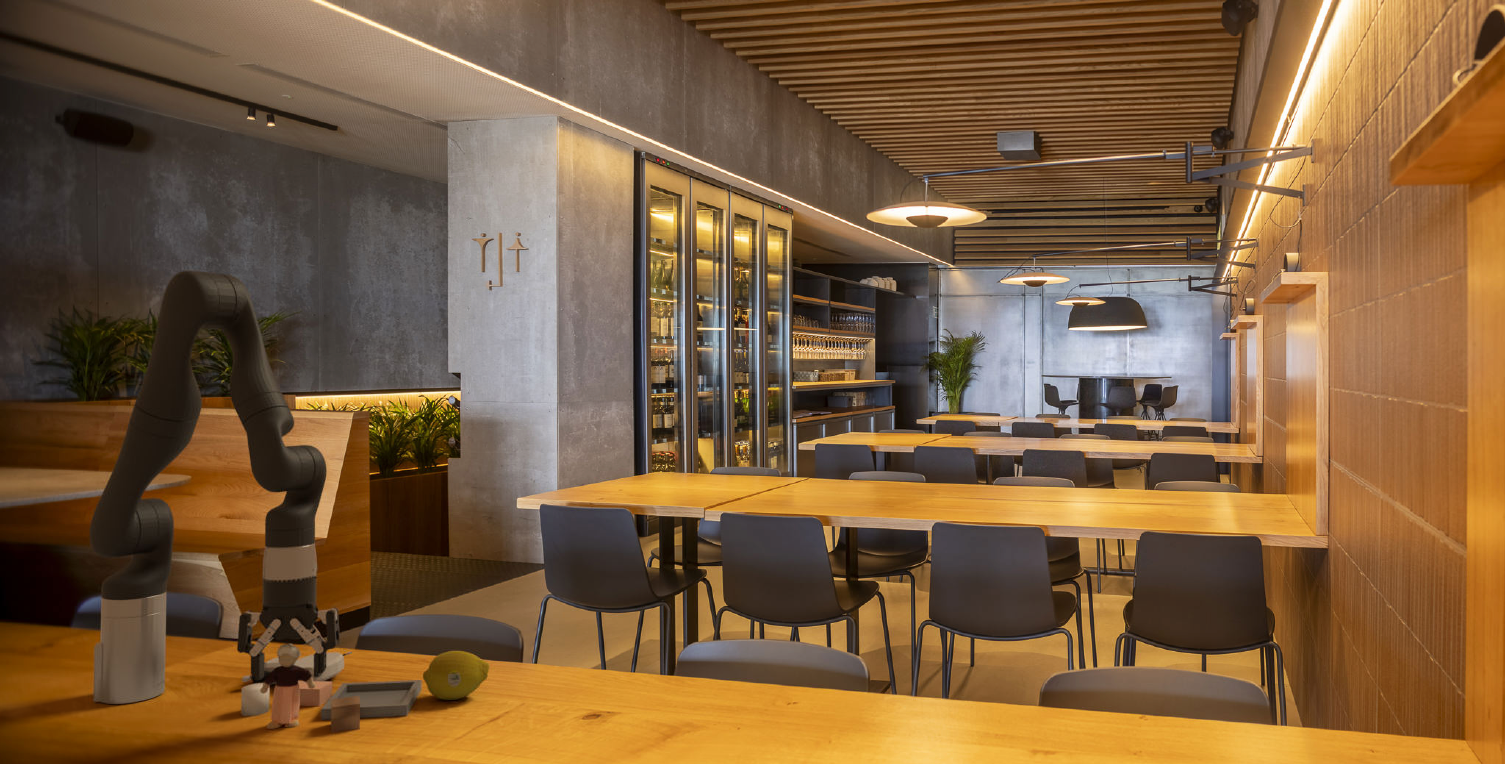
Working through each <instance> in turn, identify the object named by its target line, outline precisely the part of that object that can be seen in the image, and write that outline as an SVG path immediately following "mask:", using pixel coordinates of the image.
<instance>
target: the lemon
mask: <svg viewBox="0 0 1505 764" xmlns="http://www.w3.org/2000/svg"><path fill="white" fill-rule="evenodd" d="M489 669H490V664H489V662H488V661H486V660H484V659H482V658H480V657H479V656H477V655H475V654H473V653H471V652H467V651H462V650H450V651H447V652H443V653H440V654H438V655H436V656H435V657H434V658H433V659H432V660H431V662H430V664H429V666H428V668H427V669H426V670H425V671H424V672H423V673H422V678H423V680H424V682H425V683H426V687H427V690H428V692H429V693H430V694H431V695H432V696H433V697H435V698H437V699H439V700H444V701H456V700H459V699H462V698H464V697H466V696H469V695H471V694H472V693H474V692H475V691H476V690H477V689H478V688H479V687H480V686H481V685H482V684H483V682H485V681H486V680H487V679H488V673H489Z"/></svg>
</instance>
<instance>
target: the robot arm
mask: <svg viewBox="0 0 1505 764" xmlns="http://www.w3.org/2000/svg"><path fill="white" fill-rule="evenodd" d="M200 330H214V331H215V330H217V331H221V332H222V333H223V335H224V336H225V338H226V340H227V341H228V343H229V345H230V348H231V351H232V368H231V371H230V379H229V395H230V399H231V402H232V406H233V408H234V410H235V412H236V415H237V416H238V419H239V420H240V423H241V425H242V426H243V429H244V431H245V433H246V439H247V448H248V454H249V461H250V467H251V473H252V476H253V477H254V479H255V481H256V482H257V484H258V485H259V486H260V487H261V488H262V489H264V490H266V491H267V492H269V493H284V492H285V496H284V498H283V501H282V503H280V504H278V505H277V506H276V507H273V508H271V509H270V510H269V511H268V512H267V513H266V515H265V519H264V520H265V523H264V528H265V530H264V533H265V534H264V536H265V538H264V552H263V553H264V554H263V558H262V559H263V560H262V610H261V612H254V611H253V610H251V609H250V610H246V611H245V612H244V613H242V614H240V615H239V619H238V620H239V621H238V622H239V623H238V631H237V632H238V634H237V635H238V636H237V644H236V645H237V647H236V650H237V652H238V653H241V654H242V653H243V654H246V655H247V654H248V655H249V656H250V675H251V676H255V680H261V679H262V678H263V677H264V663H265V656H266V655H265V652H263V651H264V649H265V648H266V647H267V646H268V644H269V643H270V642H271V641H273V639H275V640H276V641H283V640H287V639H289V640H299V639H301V638H302V639H303V640H304V642H305V643H306V644H308V645H310V647H311V649H313V650H314V651H315V653H313V654H314V677H320V676H321V675H322V673H323V672H324V671H325V670H326V657H327V653H328V652H327V651H328V650H329V651H330V650H334V649H335V648H336V647H337V646H338V645H339V644H340V643H341V642H340V641H341V637H340V636H341V635H340V621H339V619H340V617H339V609H338V607H336V606H335V607H331V608H329V609H321V610H319V608H318V607H317V571H318V563H317V558H318V557H317V552H316V551H317V550H316V515H317V512H318V509H319V506H320V503H321V500H322V499H321V498H322V495H323V491H324V488H325V483H326V479H327V463H326V460H325V457H324V456H323V453H322V452H321V451H320V449H319V448H317V447H315V446H313V445H308V444H300V445H285V443H284V440H283V437H284V436H286V435H288V434H289V433H291V431H292V430H293V429H294V426H295V420H294V416H293V413H292V411H291V410H290V407H289V405H288V403H287V401H286V399H285V396H284V394H283V393H282V391H281V389H280V387H279V385H278V382H277V380H276V378H275V376H274V373H273V370H272V369H271V368H272V367H271V365H270V362H269V361H270V360H269V358H268V354H267V351H266V348H265V344H264V343H265V342H264V340H263V336H262V333H261V329H260V325H259V321H258V317H257V315H256V311H255V307H254V304H253V300H252V298H251V295H250V293H249V291H248V288H247V287H246V285H245V284H244V282H242V280H241V279H239V278H238V277H236V276H233V275H231V274H225V273H219V272H218V273H217V272H208V271H207V272H205V271H198V270H182V271H179V272H177V273H176V274H175V275H174V276H173V277H171V279H170V280H169V282H168V283H167V285H166V288H165V291H164V293H163V296H162V301H161V306H160V310H159V316H158V320H157V324H156V331H155V334H154V341H153V345H152V350H151V352H150V356H149V360H148V363H147V367H146V370H145V373H144V377H143V380H142V383H141V386H140V390H139V392H138V395H137V397H136V399H135V402H134V406H133V409H132V410H131V411H132V412H131V414H130V418H129V420H128V425H127V429H126V433H125V436H124V439H123V442H122V445H121V447H120V451H119V454H118V456H117V459H116V461H115V464H114V466H113V470H112V471H111V475H110V476H109V479H108V481H107V483H106V486H105V487H104V489H103V491H102V494H101V495H100V498H99V500H98V503H97V505H96V507H95V510H94V512H93V514H92V518H91V521H90V526H89V542H90V546H91V548H92V550H93V552H94V553H95V554H96V555H98V556H100V557H103V558H118V557H119V558H120V557H127V556H132V557H131V560H130V561H129V562H128V563H126V565H125V566H124V567H123V568H122V569H120V570H118V571H117V572H115V573H114V574H111V575H110V576H108V577H106V578H105V579H104V580H103V581H102V584H101V589H100V590H101V592H100V593H101V594H100V596H101V601H100V641H99V642H97V643H96V644H95V645H94V648H93V650H94V651H93V655H94V657H93V698H92V699H93V703H97V702H98V703H104V704H110V705H118V704H121V705H122V704H130V703H137V702H141V701H146V700H150V699H153V698H155V697H157V696H160V695H162V694H163V693H164V692H165V689H166V688H165V687H166V686H165V684H166V640H167V638H166V635H167V634H166V633H167V631H166V630H167V623H166V622H167V590H168V589H167V586H168V585H167V584H168V580H169V578H170V575H171V571H172V559H173V558H172V557H173V547H174V546H173V544H174V533H175V526H174V525H175V521H174V516H173V515H174V514H173V512H172V510H171V509H172V508H170V506H169V504H168V503H167V502H166V501H165V500H163V499H161V498H155V497H153V498H142V497H143V496H144V493H145V492H146V489H147V488H148V487H149V485H150V484H151V483H152V481H153V480H154V479H156V477H158V475H159V474H160V473H161V472H162V471H164V469H166V468H168V466H169V465H170V464H171V463H172V462H173V461H175V460H176V458H177V457H178V456H180V455H181V454H182V452H183V451H184V450H185V449H186V447H188V445H189V444H190V442H191V439H192V438H193V435H194V432H195V430H196V426H197V424H198V421H199V418H200V415H201V412H202V411H201V410H202V406H203V400H202V395H201V391H200V388H199V385H198V382H197V379H196V377H195V374H194V370H193V368H192V359H191V358H192V353H193V350H194V345H195V342H196V341H195V340H196V338H197V336H198V333H199V331H200ZM318 619H321V623H322V624H324V625H326V626H325V627H326V640H325V638H324V637H322V635H321V632H320V631H319V630H318V628H317V627H316V626H315V625H314V624H315V623H316V622H317V621H318ZM258 621H259V622H260V624H261V625H262V626H263V627H264V629H265V631H264V632H263V634H262V635H261V636H260V637H259V638H258V640H257V642H256V643H252V640H253V627H254V626H255V625H256V624H257V622H258Z"/></svg>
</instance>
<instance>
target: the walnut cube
mask: <svg viewBox="0 0 1505 764" xmlns="http://www.w3.org/2000/svg"><path fill="white" fill-rule="evenodd" d="M360 722H361V718H360V699H359V696H354V697H346V698H337V699H331V719H330V733H331V734H333V733H340V732H348V731H356V730H360V728H361V726H360V725H361V723H360Z"/></svg>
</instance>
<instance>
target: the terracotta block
mask: <svg viewBox="0 0 1505 764" xmlns="http://www.w3.org/2000/svg"><path fill="white" fill-rule="evenodd" d="M313 682H314V683H315V687H314V688H312V689H310V688H309V687H308V684H307V683H306V682H304V681H298V684H299V689H300V706H304V707H305V706H308V707H311V706H312V707H320V706H322V705H323V704H324V705H325V704H326V703H327V702H328V700H329V699H330V698H331V697H332V696H333V681H327V680H324V681H313Z"/></svg>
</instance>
